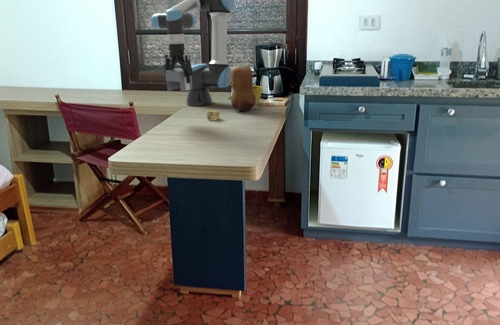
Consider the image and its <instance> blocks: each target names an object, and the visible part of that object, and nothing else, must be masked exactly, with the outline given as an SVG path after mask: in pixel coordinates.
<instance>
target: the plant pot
mask: <svg viewBox="0 0 500 325" xmlns="http://www.w3.org/2000/svg"><path fill="white" fill-rule="evenodd" d="M252 88H253V92H254V95H255V99H256V103H255V105H254V106H258V105H260V101H261V97H262V94H263V86H260V85H252Z"/></svg>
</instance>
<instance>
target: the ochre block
mask: <svg viewBox="0 0 500 325" xmlns="http://www.w3.org/2000/svg"><path fill="white" fill-rule="evenodd" d="M206 118H207V119H213V120H215V119H218V118H219V119H220V110H219V109H211V110H207V111H206ZM219 119H218V120H219ZM213 120H212V121H213ZM215 121H216V120H215Z"/></svg>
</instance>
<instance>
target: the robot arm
mask: <svg viewBox="0 0 500 325" xmlns="http://www.w3.org/2000/svg"><path fill="white" fill-rule="evenodd" d="M234 8H235V0H183V1H181V2H180V3H177V4H175V5H174V6H172V7H170V8H168V9H167V10H166V11H165V10H164V11H163V12H161V13H158V12H157V13H153V15H152V16H151V20H150V22H151V26H152V27H153V28H154V29H157V30H167V40H168V41H167V42H168V50H169V53H168V54H167V53H166V54H165V55H164V57H165V61H164V70H163V71H164V72H163V73H164V75H166V73H165V71H167V70H173V69H175V67H176V64H177V63H178V64H179V66H180V68H181V69H182V70H183V71H184V74H185V77H184V80H185V90H188V94H187V97H186V105H187V106H190V107H205V106H209V105H212V104H213V99H212V97H211V94H210V91H209V88H220V89H221V88H228V87H229V86H230V85H231V69H232V67H230V63H229V62H228V61H227V58H228V56H227V48H228V46H227V45H228V43H227V42H228V41H227V40H228V17H229V16H230V15H231V11H233V9H234ZM204 11H205V12H208V14H209V16H211V60H210V61H209V62H208V63H198V64H192V63H191V58H190V57H191V55H190V54H185V49H186V48H185V38H184V37H185V36H184V30H191V29H192V28H194V27H195V26H196V25H197V18H196V16H195V15H194V14H193V13H198V12H204ZM190 76H192V90H190V86H189V83H190Z"/></svg>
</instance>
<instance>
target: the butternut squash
mask: <svg viewBox="0 0 500 325" xmlns="http://www.w3.org/2000/svg"><path fill="white" fill-rule="evenodd" d="M231 68H232V69H231V83H230V85H231V87H232V91H231V96H230V103H231V106H232V108H235V110H237V111H240V112H248V111H250V110H251V109H252V108H254V106H256V105H255V103H256V99H255V95H254V92H253V88H252V86H254V85H253V83H254V82H253V80H254V79H253V78H254V77H253V72H252V68H251V66H249V65H246V64H245V65H234V66H233V67H231Z"/></svg>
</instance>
